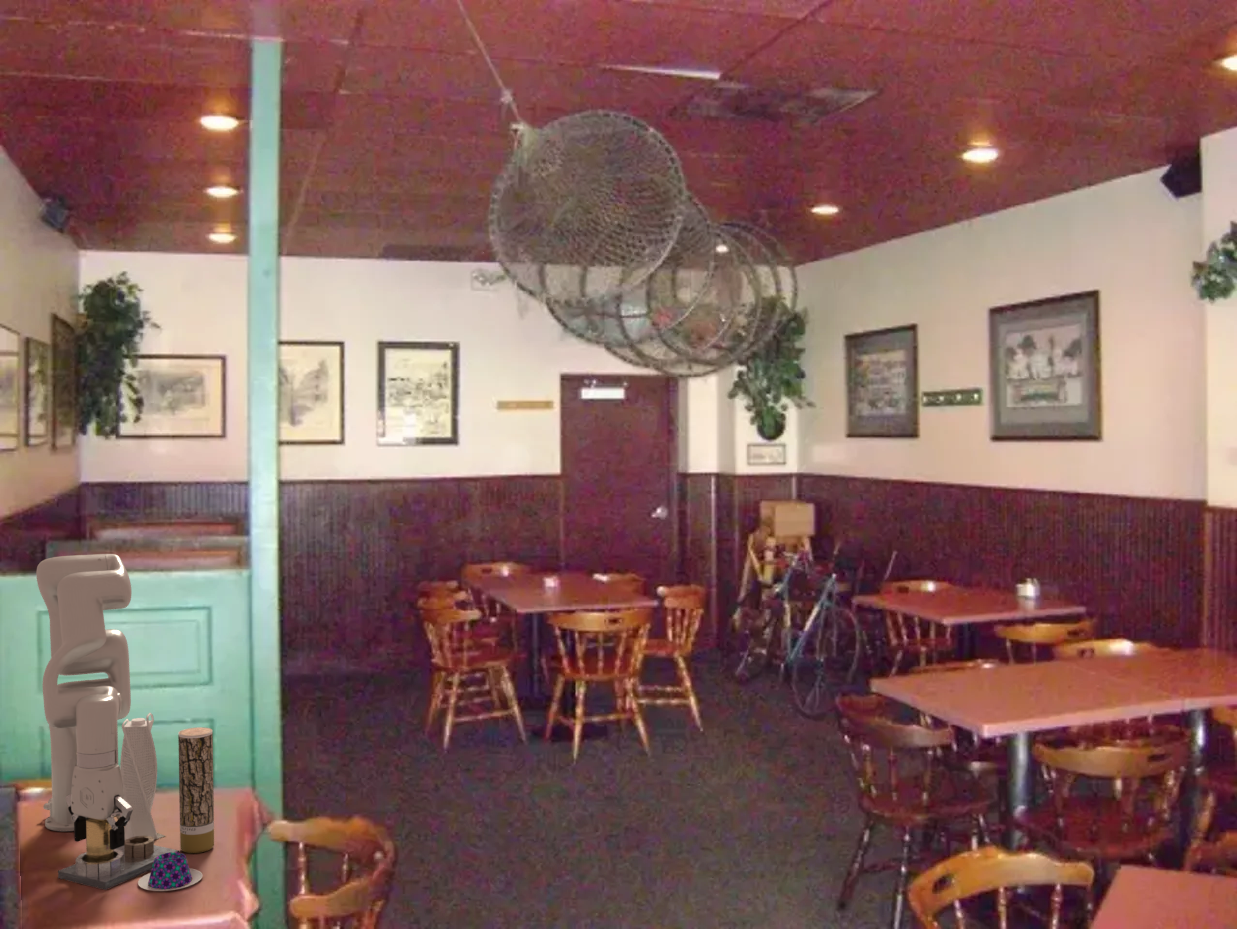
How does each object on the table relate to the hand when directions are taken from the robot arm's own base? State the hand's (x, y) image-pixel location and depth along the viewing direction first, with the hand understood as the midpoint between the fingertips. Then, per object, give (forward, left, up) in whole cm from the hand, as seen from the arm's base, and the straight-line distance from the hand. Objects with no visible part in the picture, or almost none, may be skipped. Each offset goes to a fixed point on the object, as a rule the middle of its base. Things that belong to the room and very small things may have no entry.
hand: (99, 843), depth 252 cm
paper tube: (+6, +20, -7) cm, 22 cm away
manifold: (0, +5, -7) cm, 8 cm away
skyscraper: (-9, +19, -7) cm, 22 cm away
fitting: (0, 0, -5) cm, 5 cm away
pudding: (+14, +4, -7) cm, 17 cm away
